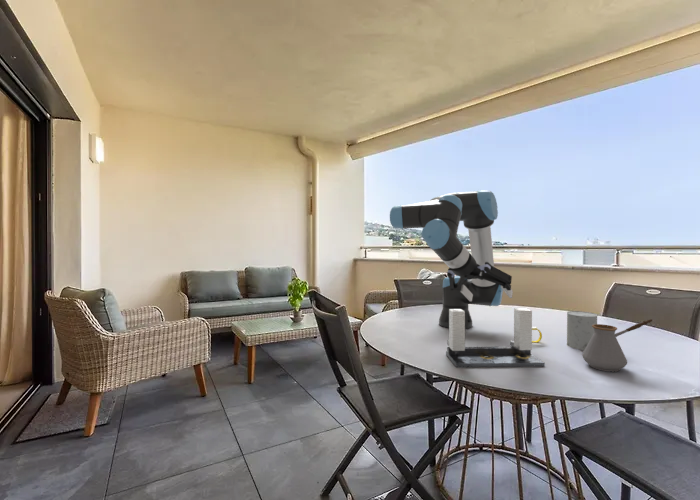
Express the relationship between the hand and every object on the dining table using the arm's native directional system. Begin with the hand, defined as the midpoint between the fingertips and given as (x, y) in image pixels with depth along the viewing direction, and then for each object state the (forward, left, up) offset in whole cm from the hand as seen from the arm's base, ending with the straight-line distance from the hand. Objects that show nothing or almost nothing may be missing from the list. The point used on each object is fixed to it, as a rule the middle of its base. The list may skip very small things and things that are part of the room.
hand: (490, 296), depth 116 cm
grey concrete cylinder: (-14, +40, -22) cm, 48 cm away
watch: (-20, +25, -22) cm, 39 cm away
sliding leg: (-2, -11, -20) cm, 23 cm away
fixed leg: (-2, +11, -20) cm, 23 cm away
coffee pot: (+7, +38, -22) cm, 44 cm away
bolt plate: (0, +1, -22) cm, 22 cm away
